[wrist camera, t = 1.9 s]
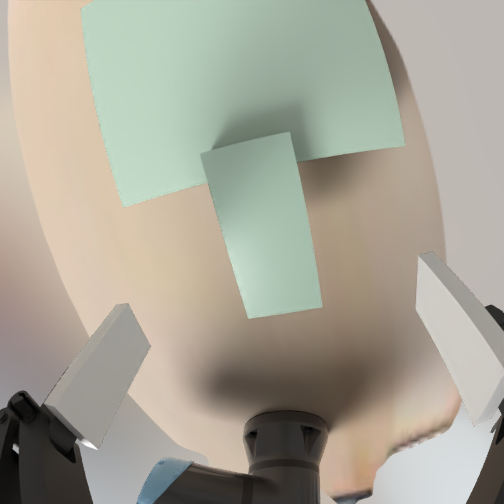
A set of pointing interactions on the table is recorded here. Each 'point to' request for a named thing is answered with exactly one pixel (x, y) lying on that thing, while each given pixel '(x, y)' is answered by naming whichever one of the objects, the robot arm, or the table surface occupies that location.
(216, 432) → the table surface
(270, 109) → the lid
